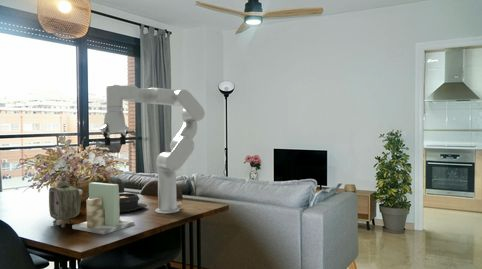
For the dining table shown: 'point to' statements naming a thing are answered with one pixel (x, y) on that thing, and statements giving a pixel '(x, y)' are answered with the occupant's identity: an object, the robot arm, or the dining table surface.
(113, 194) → the sage slotted plate
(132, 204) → the casserole
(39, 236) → the dining table surface
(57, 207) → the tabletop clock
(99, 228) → the birch slotted base
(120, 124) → the robot arm
